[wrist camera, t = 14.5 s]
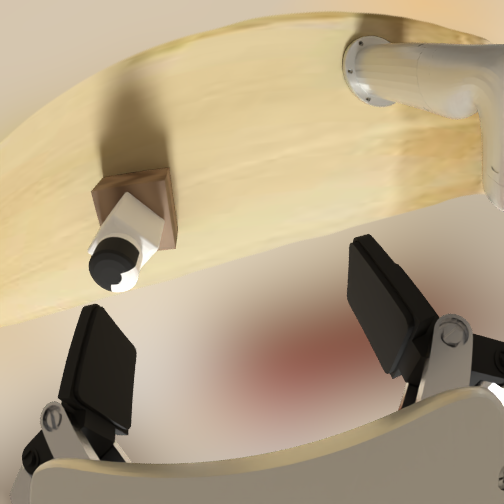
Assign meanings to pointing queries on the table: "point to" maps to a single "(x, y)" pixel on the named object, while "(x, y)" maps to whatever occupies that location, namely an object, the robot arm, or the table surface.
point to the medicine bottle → (124, 244)
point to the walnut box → (141, 198)
